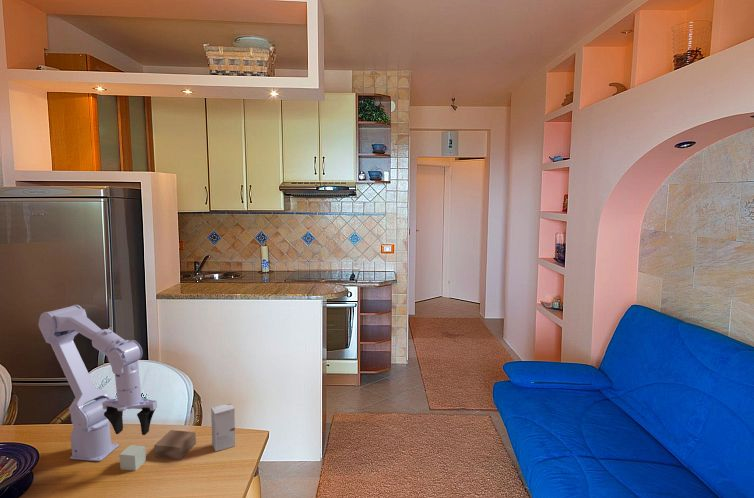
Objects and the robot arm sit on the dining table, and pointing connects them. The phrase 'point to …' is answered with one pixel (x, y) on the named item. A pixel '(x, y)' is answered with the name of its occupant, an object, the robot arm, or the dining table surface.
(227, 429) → the skincare box
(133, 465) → the sage cube
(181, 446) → the walnut block
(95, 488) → the dining table surface
